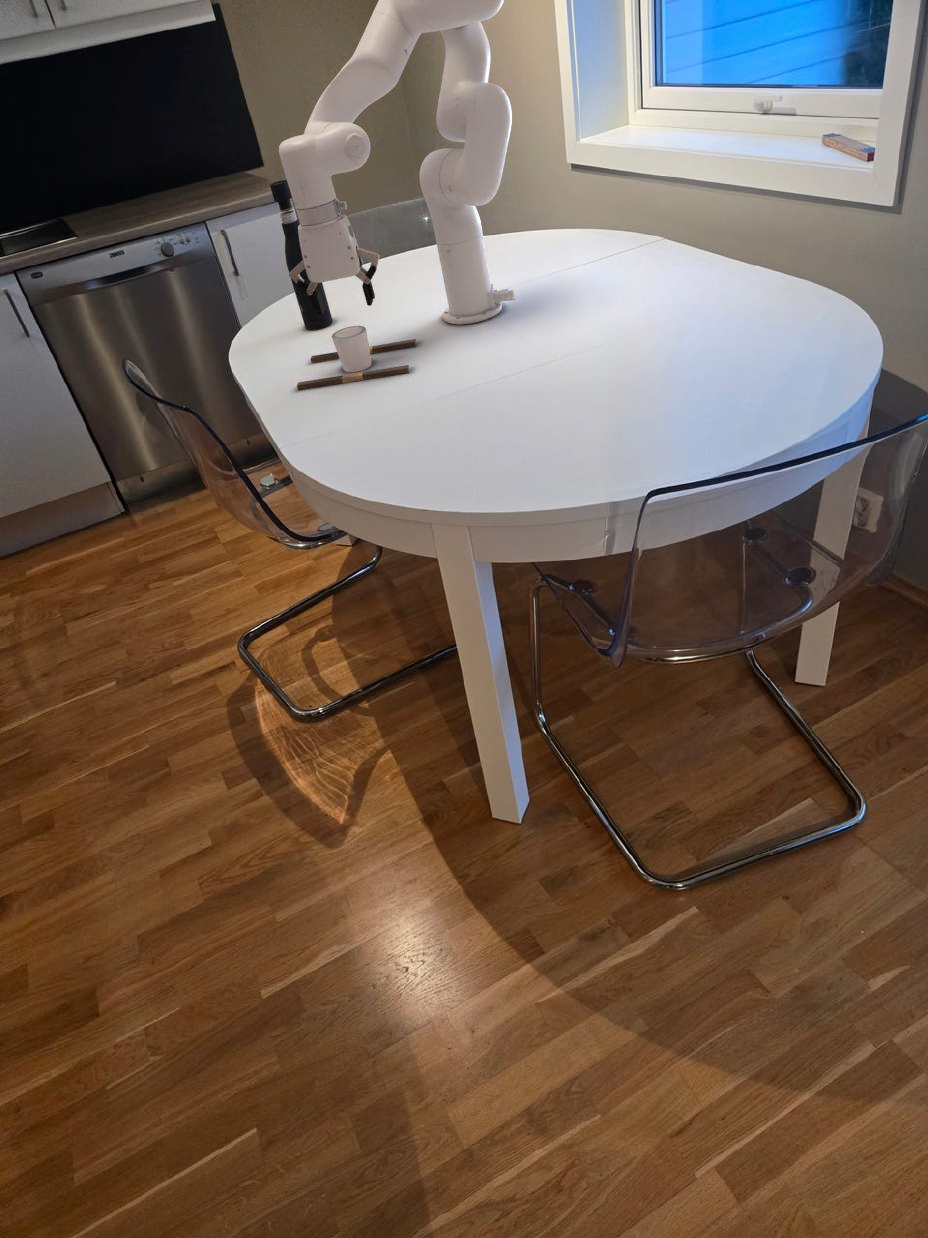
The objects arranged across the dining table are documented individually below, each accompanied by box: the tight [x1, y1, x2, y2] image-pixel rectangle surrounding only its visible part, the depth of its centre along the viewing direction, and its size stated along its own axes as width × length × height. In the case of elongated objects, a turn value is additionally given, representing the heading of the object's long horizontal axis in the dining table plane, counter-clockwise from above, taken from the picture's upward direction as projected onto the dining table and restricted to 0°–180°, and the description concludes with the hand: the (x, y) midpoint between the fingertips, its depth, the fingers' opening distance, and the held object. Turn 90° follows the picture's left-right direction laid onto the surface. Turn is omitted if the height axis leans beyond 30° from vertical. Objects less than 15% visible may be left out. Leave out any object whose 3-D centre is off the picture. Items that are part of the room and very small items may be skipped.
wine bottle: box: [269, 179, 334, 331], centre depth 190 cm, size 6×6×30 cm
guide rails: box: [296, 338, 417, 391], centre depth 173 cm, size 22×15×1 cm
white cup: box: [331, 325, 372, 373], centre depth 171 cm, size 7×7×7 cm
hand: (346, 307), depth 166 cm, fingers open, 9 cm apart
